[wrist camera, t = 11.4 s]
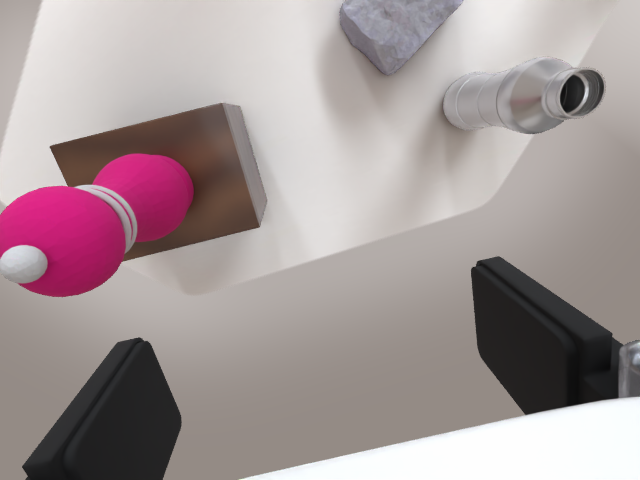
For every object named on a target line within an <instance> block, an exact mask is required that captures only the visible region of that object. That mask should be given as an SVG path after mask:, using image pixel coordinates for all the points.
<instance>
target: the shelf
mask: <svg viewBox="0 0 640 480" xmlns="http://www.w3.org/2000/svg"><path fill="white" fill-rule="evenodd" d="M50 149H51V151H52V153H53V155H54V157H55V159H56V161H57V164H58V166H59V168H60V170H61V172H62V174H63V177H64V179H65V181H66V183H67V185H68V187H77V186H81V185H92V184H93V181H94V179H95V178H96V177H97V175H98V174H99V172H100V171H101V170H102V169H103V168H104V167H105V166H106V165H107V164H109V163H110V162H111V161H113V160H115V159H117V158H119V157H122V156H125V155H129V154H148V155H161V156H166V157H169V158H171V159H173V160H175V161H176V162H178V163H179V164H180V165H181V166H183V167H184V168H185V170H186V171H187V172H188V174H189V176H190V178H191V180H192V183H193V188H194V195H193V200H192V203H191V205H190V207H189V208H188V210H187V212H186V215H185V217H184V219H183V221H182V222H181V224H180V225H179V226H178V227H177V228H176V229H175V230H174V231H172V232H171V233H169V234H168V235H166V236H164V237H162V238H159V239H156V240H152V241H146V242H134V244H133V245H132V247H131V248H130V250H129V251H128V252H126V253H125V254H124V258H123V260H122V262H123V261H127V260H131V259H135V258H139V257H143V256H147V255H151V254H155V253H159V252H163V251H167V250H171V249H175V248H179V247H183V246H187V245H191V244H195V243H199V242H203V241H207V240H211V239H215V238H219V237H223V236H227V235H231V234H235V233H239V232H243V231H247V230H251V229H255V228H259V227H260V225H261V221H262V218H263V214H264V211H265V207H266V203H267V198H266V194H265V191H264V187H263V184H262V181H261V177H260V174H259V170H258V167H257V163H256V160H255V157H254V153H253V150H252V146H251V143H250V139H249V136H248V132H247V129H246V126H245V122H244V119H243V115H242V112H241V108H240V106H237V105H232V104H226V103H218V104H214V105H210V106H206V107H202V108H198V109H194V110H190V111H186V112H182V113H179V114H175V115H171V116H167V117H163V118H159V119H155V120H151V121H147V122H143V123H139V124H135V125H131V126H127V127H123V128H119V129H115V130H111V131H107V132H103V133H99V134H95V135H91V136H87V137H83V138H79V139H76V140H72V141H68V142H64V143H60V144H56V145H52V146H50Z"/></svg>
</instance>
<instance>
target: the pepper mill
mask: <svg viewBox="0 0 640 480" xmlns="http://www.w3.org/2000/svg"><path fill="white" fill-rule="evenodd" d="M193 195H194V188H193V183H192V180H191V178H190V176H189V174H188V172H187V171H186V170H185V168H184V167H183V166H181V165H180V164H179V163H178V162H176V161H175V160H173V159H171V158H169V157H166V156H161V155H148V154H129V155H125V156H122V157H119V158H117V159H115V160H113V161H111V162H110V163H109V164H107V165H106V166H105V167H104V168H103V169H102V170H101V171H100V172H99V174H98V175H97V177H96V178H95V179H94V181H93V184H92V185H81V186H77V187H67V186H53V187H44V188H39V189H37V190H34V191H31V192H28V193H26V194H25V195H23V196H21V197H19V198H17V199H16V200H15V201H14V202H12V203H11V204H10V205H9V206H7V207H6V209H5V210H4V211H3V212H2V213H1V215H0V272H1V273H2V275H3V276H4V277H5V278H6V279H8V280H10V281H12V282H15V283H18V284H19V285H20V286H22V287H24V288H26V289H28V290H29V291H32V292H35V293H38V294H42V295H47V296H52V297H66V296H73V295H79V294H82V293H85V292H88V291H91V290H92V289H94V288H96V287H98V286H100V285H101V284H103V283H104V282H105V281H107V280H108V279H109V278H110V277H111V276H112V275H113V274H114V273H115V272H116V271H117V269H118V267H119V266H120V264H121V262H122V260H123V258H124V254H125V253H126V252H128V251H129V250H130V248H131V247H132V245H133V244H134V242H146V241H152V240H156V239H159V238H162V237H164V236H166V235H168V234H169V233H171V232H172V231H174V230H175V229H176V228H177V227H178V226H179V225H180V224H181V222H182V221H183V219H184V217H185V215H186V212H187V210H188V208H189V207H190V205H191V203H192V200H193Z"/></svg>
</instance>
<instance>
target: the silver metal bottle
mask: <svg viewBox="0 0 640 480" xmlns="http://www.w3.org/2000/svg"><path fill="white" fill-rule="evenodd" d="M605 91H606V84H605V80H604V77H603V75H602V74H601V73H600V72H599V71H598V70H596V69H593V68H587V67H586V68H585V67H584V68H573V67H571V66H570V65H569V64H568V63H566V62H565V61H563V60H559V59H556V58H552V57H539V58H535V59H532V60H529V61H526V62H524V63H522V64H520V65H518V66H516V67H514V68H511V69H509V70H506V71H503V72H500V73H486V72H473V73H469V74H466V75H464V76H462V77H461V78H459V79H458V80H456V81H455V82H454V83H453V84H452V85H451V86H450V87H449V88H448V90H447V92H446V94H445V97H444V101H443V110H444V114H445V116H446V118H447V119H448V121H449V122H450V123H451V124H453V125H454V126H456V127H458V128H460V129H463V130H476V129H481V128H484V127H488V126H498V127H504V128H507V129H510V130H513V131H516V132H520V133H525V134H537V133H542V132H544V131H547V130H549V129H552V128H554V127H556V126H558V125H559V124H561V123H562V122H563V121H564V120H567V119H577V118H582V117H585V116H587V115H589V114H591V113H592V112H594V111H595V110H596V109H597V108H598V107H599V105H600V104H601V102H602V100H603V98H604V95H605Z"/></svg>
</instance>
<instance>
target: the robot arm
mask: <svg viewBox="0 0 640 480" xmlns="http://www.w3.org/2000/svg"><path fill="white" fill-rule="evenodd" d="M471 277H472V289H473V300H474V312H475V323H476V334H477V346H478V350H479V353H480V356H481V358H482V359H483V361H484V362H485V363H486V365H487V366H488V367H489V369H490V370H491V371H492V372H493V374H494V375H495V376H496V378H497V379H498V380H499V381H500V383H501V384H502V385H503V387H504V388H505V389H506V390H507V392H508V393H509V394H510V396H511V397H512V398H513V399H514V401H515V402H516V403H517V405H518V406H519V407H520V408H521V410H522V411H523V412H524V413H525V416H520V417H515V418H511V419H506V420H502V421H497V422H493V423H488V424H484V425H479V426H475V427H470V428H466V429H461V430H457V431H452V432H448V433H443V434H438V435H434V436H430V437H425V438H420V439H416V440H411V441H407V442H403V443H398V444H394V445H389V446H385V447H381V448H376V449H372V450H367V451H363V452H358V453H354V454H349V455H345V456H341V457H336V458H332V459H328V460H323V461H318V462H314V463H310V464H305V465H301V466H297V467H292V468H288V469H283V470H279V471H274V472H270V473H265V474H261V475H257V476H252V477H248V478H243V479H239V480H640V340H635V341H632V342H629V343H627V344H625V345H623V344H621V343H619V342H618V341H617V340H615V339H614V338H613V337H612V333H611V332H610V331H608V330H607V329H605V328H604V327H602V326H601V325H599V324H598V323H596V322H595V321H593V320H592V319H591V318H589V317H588V316H586V315H585V314H583V313H582V312H580V311H579V310H577V309H576V308H574V307H573V306H571V305H570V304H569V303H567V302H565V301H564V300H562V299H561V298H560V297H558V296H557V295H555V294H554V293H552V292H551V291H549V290H548V289H546V288H545V287H543V286H542V285H540V284H539V283H538V282H536V281H535V280H533V279H532V278H530V277H529V276H527V275H526V274H525V273H523V272H521V271H520V270H519V269H517V268H516V267H514V266H513V265H511V264H510V263H508V262H507V261H505V260H504V259H503V258H501V257H494V258H489V259H485V260H480V261H478V262H477V264H476V267H473V268H472V269H471ZM180 429H181V415H180V412H179V410H178V407H177V405H176V402H175V400H174V398H173V396H172V393H171V391H170V388H169V386H168V384H167V381H166V379H165V376H164V374H163V372H162V369H161V367H160V365H159V362H158V360H157V358H156V355H155V353H154V351H153V348H152V346H151V344H150V343H149V342H148V341H144V340H142V339H141V338H134V339H130V340H126V341H121V342H118V343H117V344H116V345H115V346H114V348H113V349H112V350H111V351H110V353H109V354H108V355H107V356H106V358H105V359H104V360H103V362H102V363H101V364H100V366H99V367H98V368H97V369H96V371H95V372H94V373H93V375H92V376H91V377H90V379H89V380H88V381H87V383H86V384H85V385H84V387H83V388H82V389H81V390H80V392H79V393H78V394H77V396H76V397H75V398H74V400H73V401H72V402H71V403H70V405H69V406H68V407H67V409H66V410H65V411H64V413H63V414H62V415H61V417H60V418H59V419H58V420H57V422H56V423H55V424H54V426H53V427H52V428H51V430H50V431H49V432H48V434H47V435H46V436H45V437H44V439H43V440H42V441H41V443H40V444H39V445H38V447H37V448H36V450H34V452H33V453H32V454H31V456H30V457H29V458H28V460H27V461H26V462H25V464H24V465H23V466H22V468H23V469H24V471H25V472H26V474H27V475H28V477H27V478H26V480H163V477H164V474H165V471H166V468H167V465H168V463H169V460H170V457H171V454H172V451H173V449H174V446H175V443H176V440H177V437H178V434H179V431H180Z"/></svg>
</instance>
